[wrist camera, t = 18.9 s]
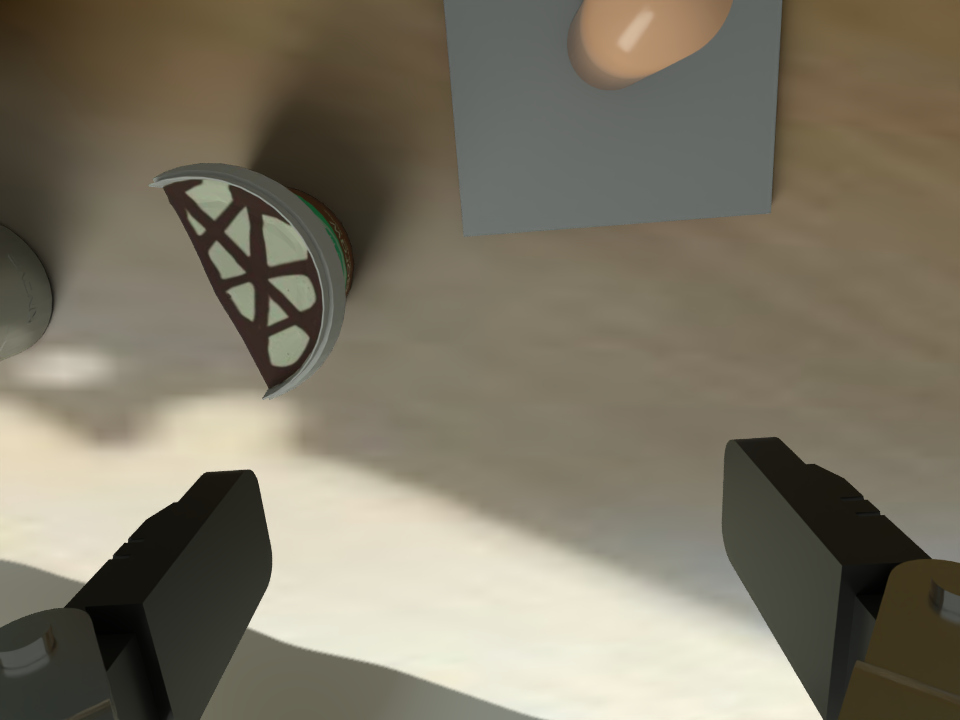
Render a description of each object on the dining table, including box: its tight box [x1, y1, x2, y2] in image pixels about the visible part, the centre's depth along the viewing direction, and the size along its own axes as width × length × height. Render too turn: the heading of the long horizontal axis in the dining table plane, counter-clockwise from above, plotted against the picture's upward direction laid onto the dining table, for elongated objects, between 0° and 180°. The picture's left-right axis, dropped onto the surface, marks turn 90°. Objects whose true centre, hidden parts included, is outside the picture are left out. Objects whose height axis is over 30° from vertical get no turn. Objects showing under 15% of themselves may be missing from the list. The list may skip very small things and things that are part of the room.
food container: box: [149, 163, 354, 400], centre depth 36 cm, size 12×6×10 cm, turn 22°
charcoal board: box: [444, 0, 782, 237], centre depth 36 cm, size 18×20×1 cm
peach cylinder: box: [567, 0, 733, 90], centre depth 30 cm, size 5×5×12 cm
